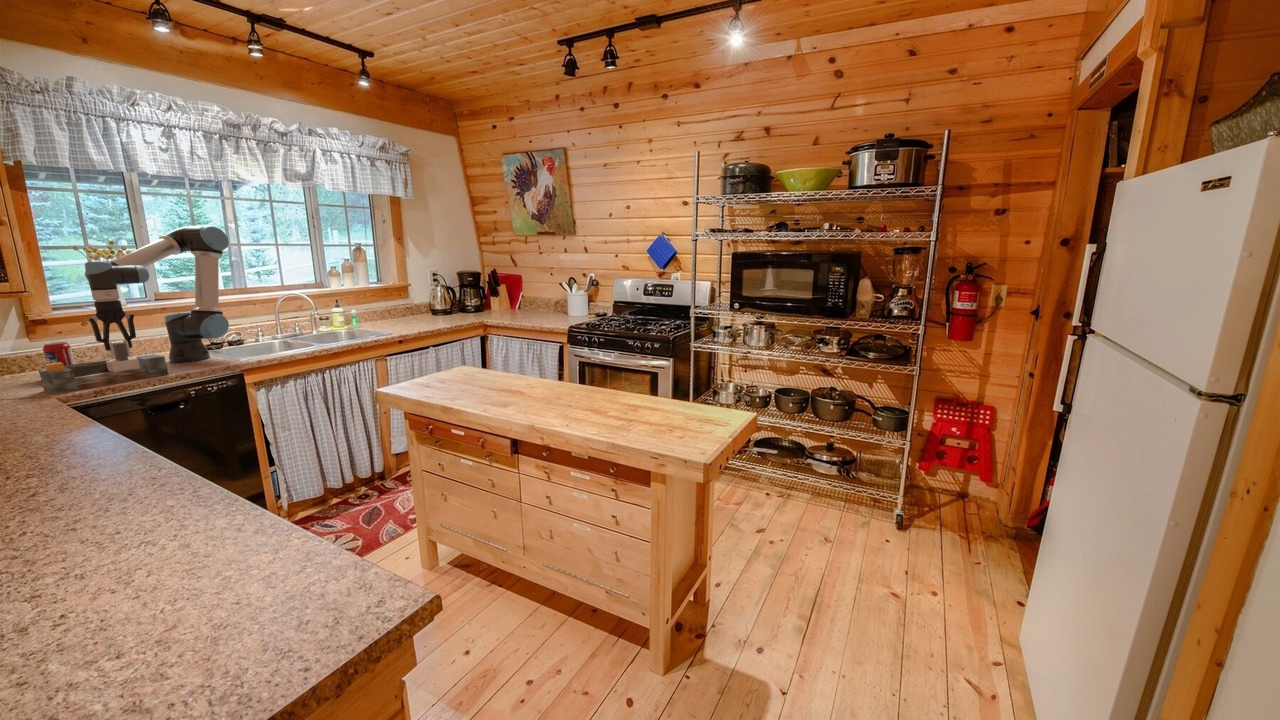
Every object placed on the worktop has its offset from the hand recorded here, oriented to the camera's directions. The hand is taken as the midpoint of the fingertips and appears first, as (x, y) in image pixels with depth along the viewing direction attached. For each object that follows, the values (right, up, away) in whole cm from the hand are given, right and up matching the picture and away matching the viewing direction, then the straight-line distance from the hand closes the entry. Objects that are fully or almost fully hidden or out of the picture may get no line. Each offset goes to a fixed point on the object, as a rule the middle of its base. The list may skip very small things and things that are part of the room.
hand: (121, 356), depth 209 cm
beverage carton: (-22, -9, +6) cm, 25 cm away
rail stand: (-2, -10, -2) cm, 11 cm away
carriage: (0, -5, +1) cm, 5 cm away
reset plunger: (-9, -7, -15) cm, 19 cm away
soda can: (-34, -9, +9) cm, 36 cm away
